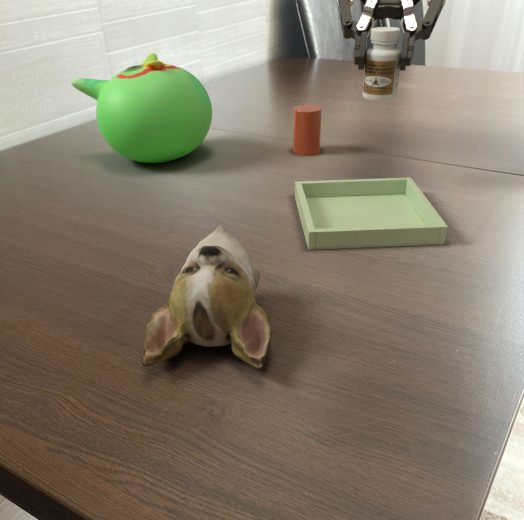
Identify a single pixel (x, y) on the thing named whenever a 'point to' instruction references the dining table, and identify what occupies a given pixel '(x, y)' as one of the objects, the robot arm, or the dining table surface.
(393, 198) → the sage tray
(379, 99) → the pill bottle
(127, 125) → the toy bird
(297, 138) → the terracotta cylinder
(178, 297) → the ceramic sculpture
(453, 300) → the dining table surface
